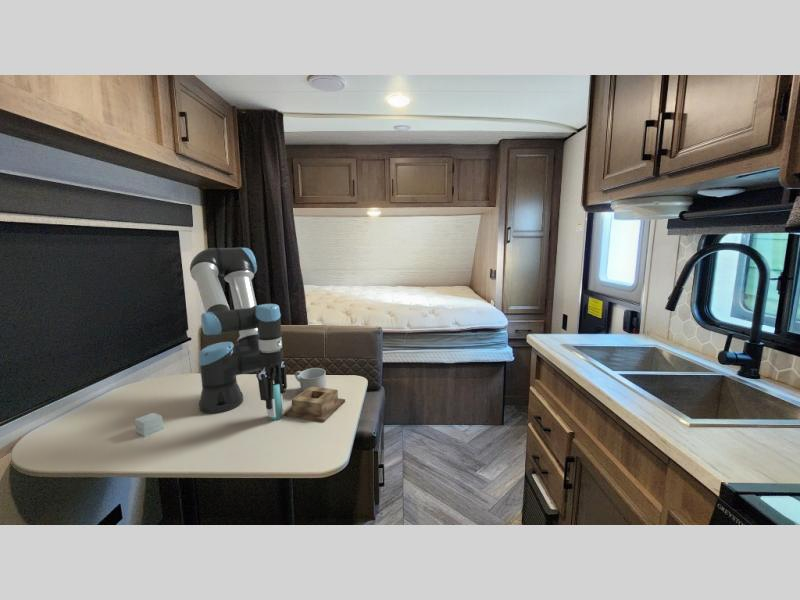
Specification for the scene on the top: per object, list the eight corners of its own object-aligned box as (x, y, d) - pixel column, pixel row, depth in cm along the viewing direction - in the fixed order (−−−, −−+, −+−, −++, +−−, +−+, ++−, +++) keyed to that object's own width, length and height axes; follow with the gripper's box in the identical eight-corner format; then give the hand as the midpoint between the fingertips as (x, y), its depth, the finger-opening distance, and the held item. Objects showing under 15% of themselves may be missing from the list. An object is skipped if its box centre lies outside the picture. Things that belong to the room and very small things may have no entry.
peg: (267, 419, 119) (264, 387, 117) (274, 414, 123) (272, 382, 121) (277, 421, 118) (274, 388, 116) (284, 415, 121) (282, 384, 120)
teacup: (332, 388, 144) (331, 370, 143) (312, 398, 135) (311, 379, 134) (308, 382, 151) (307, 364, 150) (289, 391, 142) (287, 372, 141)
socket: (284, 415, 122) (283, 401, 121) (309, 396, 137) (308, 383, 136) (324, 422, 117) (323, 407, 116) (345, 401, 132) (344, 388, 131)
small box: (164, 429, 114) (162, 415, 113) (144, 437, 109) (142, 423, 108) (155, 425, 117) (153, 411, 116) (135, 433, 112) (133, 419, 111)
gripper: (263, 358, 107) (269, 427, 111) (294, 343, 123) (298, 404, 127) (243, 356, 109) (250, 423, 113) (277, 342, 125) (281, 401, 129)
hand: (275, 413), depth 120 cm, fingers closed on peg, 4 cm apart
